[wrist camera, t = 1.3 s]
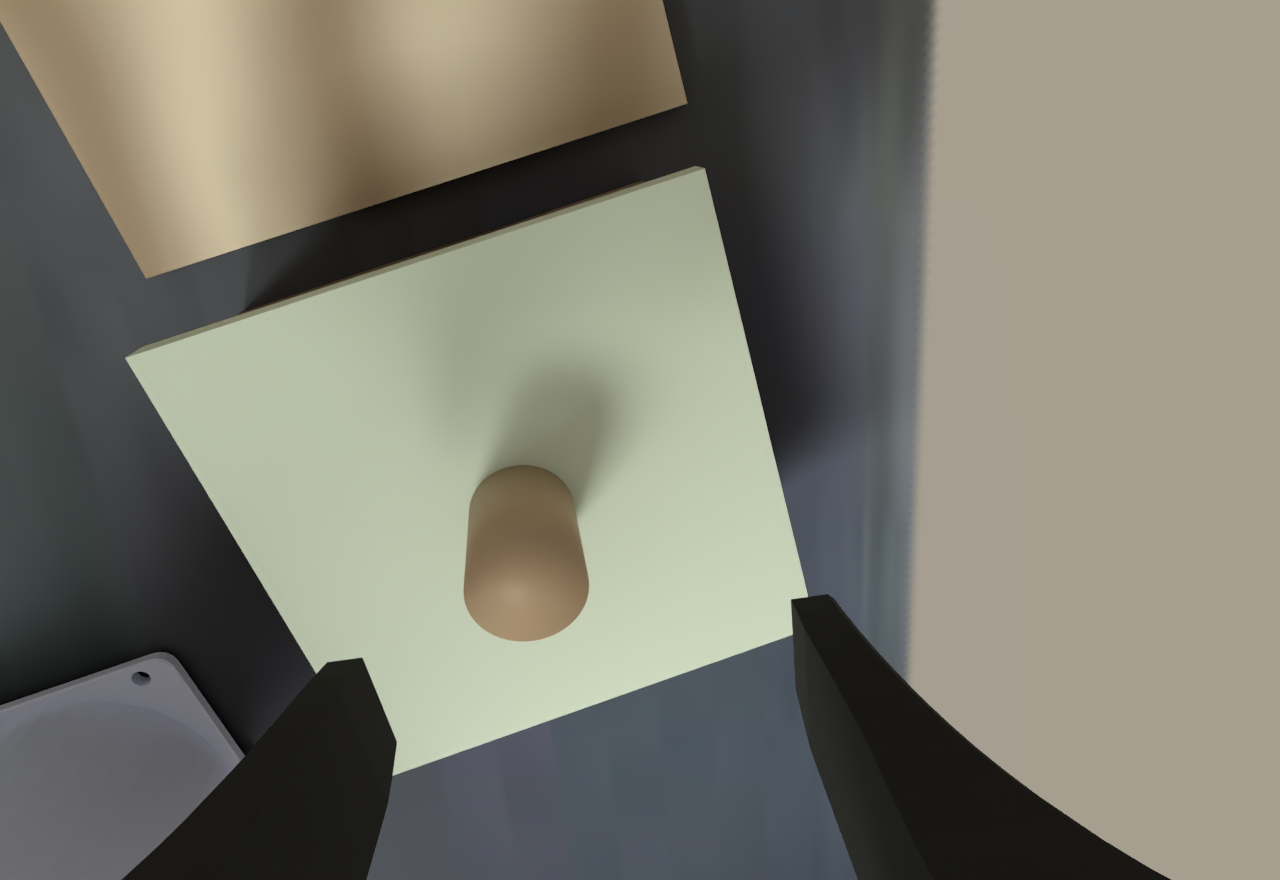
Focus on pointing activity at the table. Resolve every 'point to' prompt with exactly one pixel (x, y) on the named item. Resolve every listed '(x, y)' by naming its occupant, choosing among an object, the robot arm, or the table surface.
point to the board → (322, 101)
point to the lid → (501, 465)
